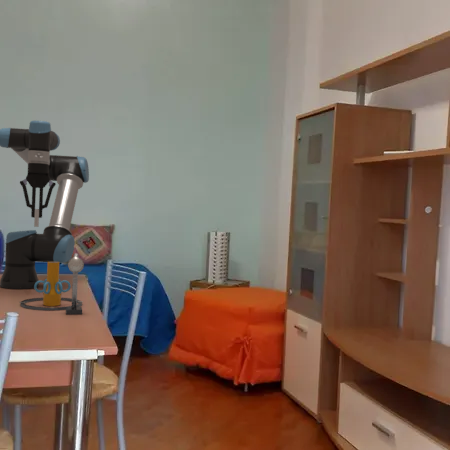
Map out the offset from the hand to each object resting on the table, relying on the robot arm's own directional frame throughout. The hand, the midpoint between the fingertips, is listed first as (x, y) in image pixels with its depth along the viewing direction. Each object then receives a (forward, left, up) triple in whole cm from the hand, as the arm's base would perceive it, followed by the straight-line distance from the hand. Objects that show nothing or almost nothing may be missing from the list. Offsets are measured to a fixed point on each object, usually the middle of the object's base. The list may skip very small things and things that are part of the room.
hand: (36, 226), depth 211 cm
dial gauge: (+29, +13, -26) cm, 41 cm away
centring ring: (+16, +6, -26) cm, 31 cm away
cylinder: (+16, +6, -27) cm, 32 cm away
